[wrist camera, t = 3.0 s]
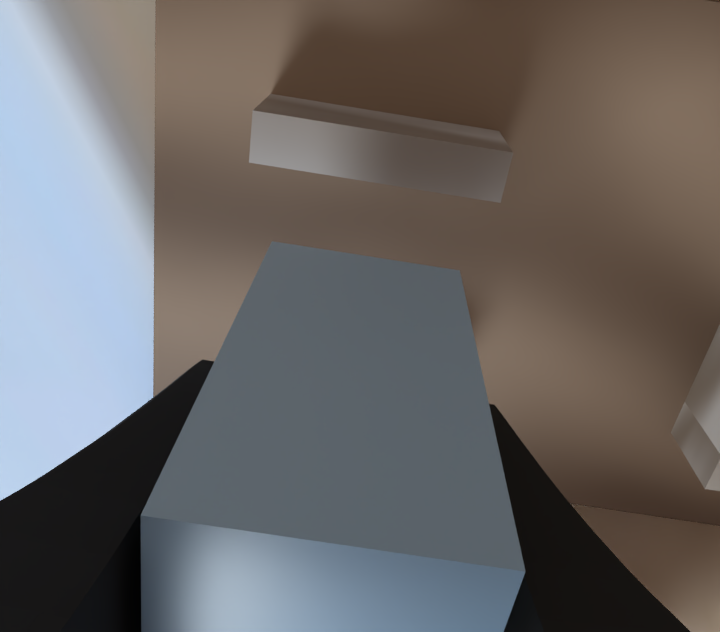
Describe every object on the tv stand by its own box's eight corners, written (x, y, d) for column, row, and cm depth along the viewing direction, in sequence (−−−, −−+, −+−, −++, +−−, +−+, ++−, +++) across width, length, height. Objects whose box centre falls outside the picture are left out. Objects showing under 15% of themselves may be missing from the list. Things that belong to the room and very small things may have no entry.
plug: (413, 466, 12) (427, 841, 7) (253, 442, 12) (142, 801, 7) (459, 270, 10) (525, 571, 5) (272, 241, 10) (140, 515, 5)
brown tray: (893, 538, 20) (965, 619, 17) (160, 427, 19) (124, 494, 17) (1214, 86, 14) (1394, 110, 11) (166, -90, 13) (113, -105, 11)
